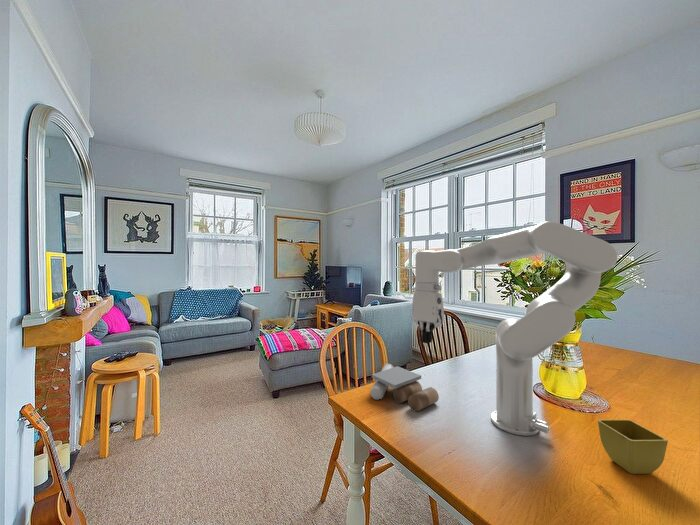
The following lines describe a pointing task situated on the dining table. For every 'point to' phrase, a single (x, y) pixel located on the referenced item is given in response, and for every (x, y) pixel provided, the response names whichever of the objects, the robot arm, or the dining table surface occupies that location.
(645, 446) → the flower pot
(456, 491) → the dining table surface
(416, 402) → the rollers
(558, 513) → the dining table surface
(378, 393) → the tube
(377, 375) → the slab
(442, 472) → the dining table surface
